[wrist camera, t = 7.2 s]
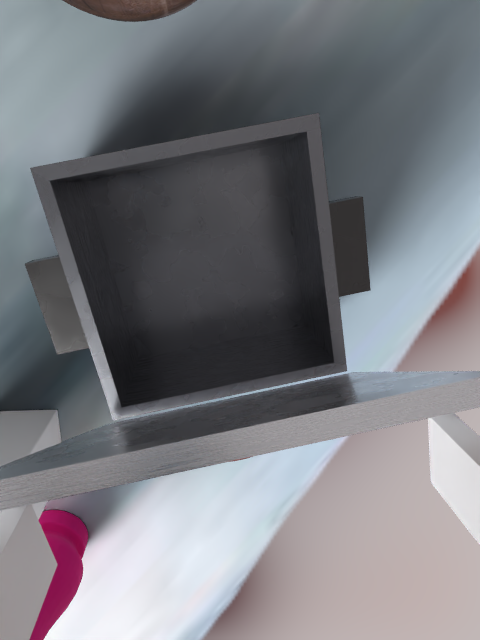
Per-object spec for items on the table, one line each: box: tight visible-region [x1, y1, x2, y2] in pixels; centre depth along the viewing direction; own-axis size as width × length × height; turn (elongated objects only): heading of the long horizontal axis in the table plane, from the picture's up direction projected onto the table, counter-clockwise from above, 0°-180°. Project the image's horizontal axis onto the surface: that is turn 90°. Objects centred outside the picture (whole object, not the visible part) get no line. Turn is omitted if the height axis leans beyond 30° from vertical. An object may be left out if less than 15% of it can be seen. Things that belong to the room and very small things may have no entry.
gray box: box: [25, 113, 370, 420], centre depth 29 cm, size 16×21×9 cm
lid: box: [0, 371, 480, 511], centre depth 19 cm, size 16×16×3 cm
